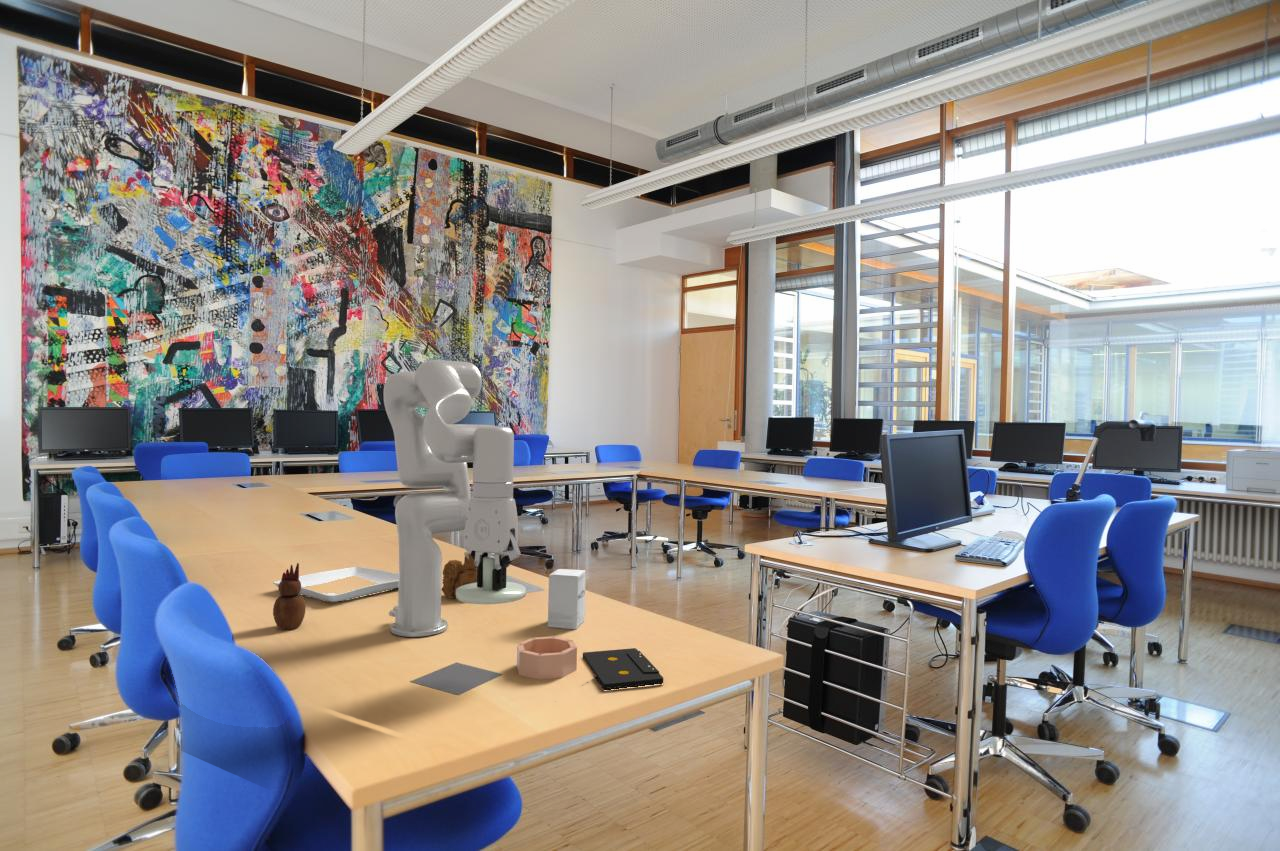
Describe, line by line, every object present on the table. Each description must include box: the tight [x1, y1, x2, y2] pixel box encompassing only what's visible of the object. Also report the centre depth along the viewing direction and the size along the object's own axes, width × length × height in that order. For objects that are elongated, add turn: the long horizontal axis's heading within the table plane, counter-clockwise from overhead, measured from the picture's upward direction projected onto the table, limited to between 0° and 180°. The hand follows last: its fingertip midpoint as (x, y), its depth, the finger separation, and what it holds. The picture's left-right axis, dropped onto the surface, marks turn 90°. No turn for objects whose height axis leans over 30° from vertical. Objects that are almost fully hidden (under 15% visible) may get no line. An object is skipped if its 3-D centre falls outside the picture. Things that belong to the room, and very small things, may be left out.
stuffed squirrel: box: [441, 551, 478, 598], centre depth 194 cm, size 10×14×13 cm
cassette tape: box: [582, 647, 664, 691], centre depth 140 cm, size 18×12×2 cm, turn 17°
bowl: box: [516, 635, 578, 680], centre depth 139 cm, size 11×11×5 cm
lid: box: [455, 555, 527, 605], centre depth 135 cm, size 13×13×7 cm
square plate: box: [272, 566, 399, 603], centre depth 199 cm, size 27×27×4 cm
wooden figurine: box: [272, 562, 307, 630], centre depth 164 cm, size 7×6×15 cm
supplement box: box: [547, 568, 587, 630], centre depth 171 cm, size 7×7×13 cm
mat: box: [409, 662, 504, 696], centre depth 133 cm, size 12×12×1 cm
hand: (491, 586), depth 135 cm, fingers closed on lid, 3 cm apart
